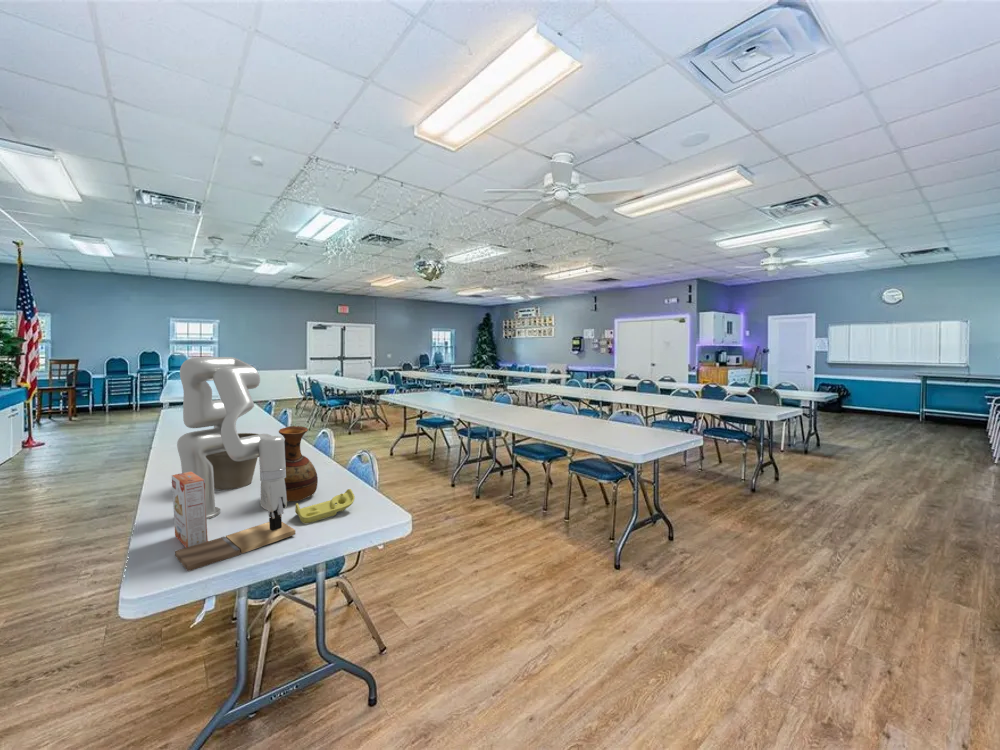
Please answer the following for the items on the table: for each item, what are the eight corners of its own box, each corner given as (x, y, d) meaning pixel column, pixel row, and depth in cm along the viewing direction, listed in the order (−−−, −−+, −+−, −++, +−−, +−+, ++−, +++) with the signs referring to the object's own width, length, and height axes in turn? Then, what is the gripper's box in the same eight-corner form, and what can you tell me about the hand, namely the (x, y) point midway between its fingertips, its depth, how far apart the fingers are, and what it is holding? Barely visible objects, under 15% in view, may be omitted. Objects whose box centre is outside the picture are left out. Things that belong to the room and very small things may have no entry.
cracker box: (173, 537, 140) (170, 474, 139) (195, 531, 144) (192, 470, 143) (185, 550, 131) (182, 483, 130) (208, 543, 135) (205, 478, 134)
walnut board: (175, 555, 127) (174, 550, 127) (224, 541, 137) (224, 536, 137) (187, 571, 118) (187, 565, 118) (240, 554, 128) (240, 549, 128)
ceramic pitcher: (269, 510, 164) (267, 433, 162) (262, 496, 180) (259, 425, 178) (323, 499, 175) (321, 427, 173) (311, 487, 191) (310, 421, 190)
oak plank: (241, 553, 128) (241, 548, 128) (226, 540, 137) (225, 535, 137) (295, 534, 140) (295, 529, 140) (277, 523, 149) (277, 519, 149)
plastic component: (302, 519, 149) (294, 500, 155) (302, 534, 152) (294, 515, 159) (358, 502, 161) (349, 485, 167) (357, 517, 164) (348, 499, 171)
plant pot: (228, 496, 179) (226, 445, 178) (185, 491, 186) (183, 442, 185) (276, 479, 202) (274, 434, 201) (236, 475, 210) (234, 431, 209)
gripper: (252, 473, 142) (254, 526, 143) (270, 480, 133) (273, 538, 133) (275, 468, 148) (278, 520, 149) (294, 475, 138) (297, 530, 139)
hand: (275, 528), depth 141 cm, fingers closed
